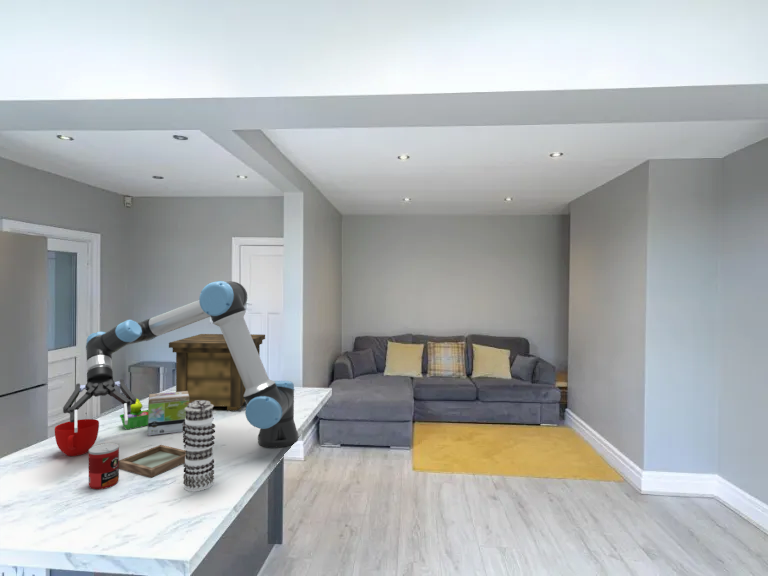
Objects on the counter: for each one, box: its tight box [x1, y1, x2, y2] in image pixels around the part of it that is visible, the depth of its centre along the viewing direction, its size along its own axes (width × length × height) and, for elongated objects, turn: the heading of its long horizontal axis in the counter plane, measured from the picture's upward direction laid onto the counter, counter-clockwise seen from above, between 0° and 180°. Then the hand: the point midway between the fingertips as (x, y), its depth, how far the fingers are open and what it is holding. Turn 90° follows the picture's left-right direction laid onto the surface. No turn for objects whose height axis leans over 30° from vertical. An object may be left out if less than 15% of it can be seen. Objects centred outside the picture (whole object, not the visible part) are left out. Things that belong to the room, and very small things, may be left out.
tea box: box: [147, 391, 189, 437], centre depth 181 cm, size 15×10×15 cm, turn 117°
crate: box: [168, 333, 266, 412], centre depth 222 cm, size 35×35×33 cm
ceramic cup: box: [54, 418, 100, 457], centre depth 155 cm, size 13×17×10 cm
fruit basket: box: [119, 398, 148, 430], centre depth 186 cm, size 11×9×11 cm
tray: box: [119, 444, 186, 479], centre depth 147 cm, size 16×16×2 cm
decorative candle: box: [182, 400, 216, 492], centre depth 132 cm, size 9×9×25 cm
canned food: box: [87, 442, 120, 490], centre depth 132 cm, size 8×8×11 cm
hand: (101, 426), depth 141 cm, fingers open, 13 cm apart
